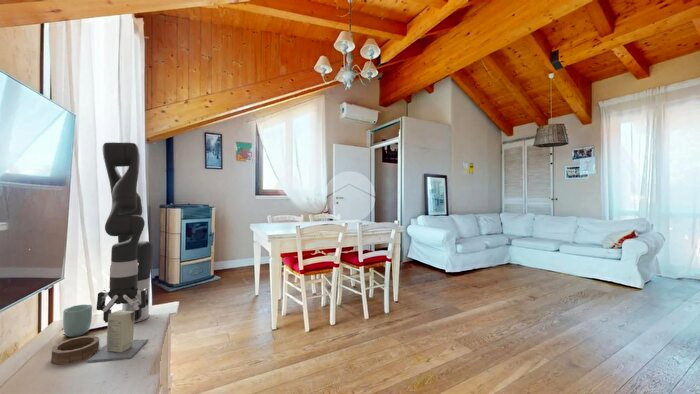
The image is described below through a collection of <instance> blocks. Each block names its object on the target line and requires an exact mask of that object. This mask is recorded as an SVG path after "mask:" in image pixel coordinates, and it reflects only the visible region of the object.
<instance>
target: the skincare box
mask: <svg viewBox="0 0 700 394" xmlns="http://www.w3.org/2000/svg"><path fill="white" fill-rule="evenodd" d="M134 324H135V323H134V312H132V311H125V310H122V309H119V310H116V311H113V312H111V313H110V314H108V323H107V331H106V332H107V333H106V345H107V349H106V350H108V351H114V352H120V353H121V352H123V351H125V350H127V349H129V348H131V347H132V346H133V340H134Z"/></svg>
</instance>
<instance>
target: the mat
mask: <svg viewBox="0 0 700 394" xmlns="http://www.w3.org/2000/svg"><path fill="white" fill-rule="evenodd" d="M148 341H149V339H148V338H147V339H146V338H145V339H133V346H132V347H131V348H129V349H127V350H125V351H123V352H121V353H120V352H114V351H108V350H106V349H107V344H105V345H104V346H103V347H102V348H101V349H99V351H98V352H96V353H95V354H94V355H92V356H90V357H89V358H88V360H87V363H95V362H108V361H119V360H121V361H122V360H128V359H129V360H130V359H133V357H134V356H135V355H136V354H137V353H139V351H140V350H141V349H142V347H144V345H146V343H147V342H148Z"/></svg>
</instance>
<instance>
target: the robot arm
mask: <svg viewBox="0 0 700 394" xmlns="http://www.w3.org/2000/svg"><path fill="white" fill-rule="evenodd" d="M101 151H102V156H103V161H104V165H105V170H106V174H107V178H108V182H109V187H110V195H111V208H110V209H111V210H110V213H109V215H108V217H107V219H106V221H105V225H104V230H105V233H106V234H107V235H108V236H110V237H117V243H114V244H113V245H112V247H111V255H110V257H111V258H110V265H109V267H110V268H109V291H108V290H106V289H105V290H101V291H100V292H98V293H97V300H96V310H97V311H101V312H103V319H102V320H103V322H105V323H107V324H108V314H110V313H112V308H113V306H114V305H115V304H116V305H120V304H121V305H122V308H121V310H125V311H132V312H134V324H135V323H139V322H142V321H145V320H147V319H148V318H149V317H150V316H149V315H150V313H149V312H150V291H151V290H150V288H151V285H150V283H151V272H152V265H153V263H152V262H153V252H154V249H153V243H152V242H150V241H146V240H140V239H141V235H142V233H143V231H144V229H145V220H144V218H143V217H142V214H143V206H142V205H143V204H142V199H141V196H140V195H139V193H138V192H137V188H138V187H137V186H138V180H139V179H138V178H139V172H140V164H141V154H140V150H139V146H138V144H136V143H134V142H114V141H113V142H105V143H103V145H102V150H101ZM118 167H119V168H120V167H124V168H125V167H128V168H127V170H126V172H125V173H123V175H121V173H120V172H119V169H118ZM107 297H109V299H110V300H109V301H108V303H106V298H107Z"/></svg>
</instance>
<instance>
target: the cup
mask: <svg viewBox="0 0 700 394" xmlns="http://www.w3.org/2000/svg"><path fill="white" fill-rule="evenodd" d="M92 320H93V305H92V304H87V303H85V304H77V305H73V306H69V307H67V308H65V309H64V310H63V312H62V330H63V333H64V335H65V336H66V337H70V338H77V337H81V336H82V335H83V336H84V334H86V333H88V332H89V331H90V328H91V326H92Z"/></svg>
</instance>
